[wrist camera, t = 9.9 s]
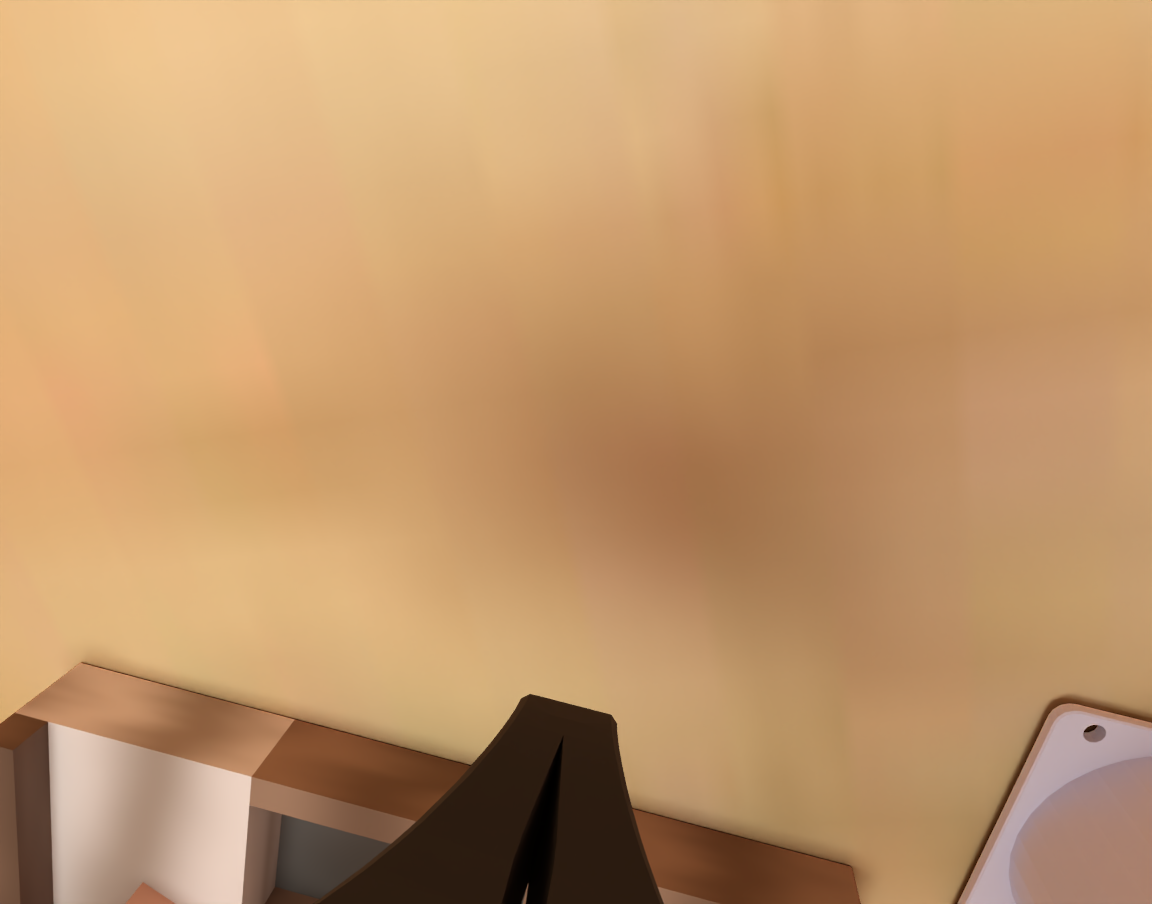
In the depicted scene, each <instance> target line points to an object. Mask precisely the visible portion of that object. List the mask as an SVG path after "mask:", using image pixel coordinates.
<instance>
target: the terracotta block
mask: <svg viewBox="0 0 1152 904" xmlns="http://www.w3.org/2000/svg"><path fill="white" fill-rule="evenodd" d="M126 904H175V903H174V902H172V901H171V900H169V899H168V898H166V897H165V896H163V895H162V894H160V893H159V892H157V891H156V890H154V889H153V888H151V887H150V886H148V885H147V884H145V883H144V882H142V884H141V885H140V886H139V887H138V889H137V890H136V891H135V892H134V894H133V895H132V896H131V897H130V899H129V900H128V901H127V902H126Z"/></svg>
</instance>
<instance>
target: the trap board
mask: <svg viewBox="0 0 1152 904" xmlns="http://www.w3.org/2000/svg"><path fill="white" fill-rule="evenodd" d="M469 767H470V766H469V765H465V764H461V763H458V762H454V761H450V760H446V759H442V758H439V757H435V756H431V755H427V754H424V753H420V752H416V751H412V750H408V749H405V748H401V747H397V746H393V745H389V744H386V743H382V742H378V741H374V740H371V739H367V738H363V737H359V736H355V735H352V734H348V733H344V732H340V731H337V730H333V729H329V728H325V727H321V726H318V725H314V724H310V723H306V722H303V721H299V720H295V719H291V718H287V717H284V716H280V715H276V714H272V713H269V712H265V711H261V710H257V709H253V708H250V707H246V706H242V705H238V704H235V703H231V702H227V701H223V700H219V699H216V698H212V697H208V696H204V695H201V694H197V693H193V692H189V691H185V690H182V689H178V688H174V687H170V686H167V685H163V684H159V683H155V682H151V681H148V680H144V679H140V678H136V677H133V676H129V675H125V674H121V673H117V672H114V671H110V670H106V669H102V668H98V667H95V666H91V665H87V664H83V663H79V664H78V665H77V666H75V667H74V668H73V669H72V670H70V671H69V672H68V673H66V674H65V675H64V676H62V677H61V678H60V679H58V680H57V681H56V682H54V683H53V684H52V685H51V686H49V687H48V688H47V689H45V690H44V691H43V692H41V693H40V694H39V695H37V696H36V697H35V698H33V699H32V700H31V701H30V702H28V703H27V704H26V705H24V706H23V707H22V708H20V709H19V710H18V711H16V712H15V713H14V714H12V715H11V716H10V717H9V718H7V719H6V720H5V721H3V722H2V723H1V724H0V904H126V902H127V901H128V900H129V899H130V897H131V896H132V895H133V894H134V892H135V891H136V890H137V889H138V887H139V886H140V885H141V884H142V882H144V883H145V884H147V885H148V886H150V887H151V888H153V889H154V890H156V891H157V892H159V893H160V894H162V895H163V896H165V897H166V898H168V899H169V900H171V901H172V902H174V903H175V904H313V903H314V902H316V901H317V900H319V899H320V898H322V897H323V896H324V895H326V894H327V893H328V892H330V891H331V890H332V889H334V888H335V887H336V886H338V885H339V884H341V883H342V882H343V881H345V880H346V879H347V878H349V877H350V876H351V875H353V874H354V873H355V872H357V871H358V870H359V869H361V868H362V867H363V866H365V865H366V864H367V863H368V862H370V861H371V860H372V859H373V858H374V857H376V856H377V855H378V854H379V853H381V852H382V851H383V850H384V849H385V848H387V847H388V846H389V845H390V844H391V843H393V842H394V841H395V840H396V839H397V838H398V837H400V836H401V835H402V834H403V833H404V832H405V831H406V830H407V829H409V828H410V827H411V826H412V825H413V824H414V823H415V822H416V821H417V820H418V819H420V818H421V817H422V816H423V815H424V814H425V813H426V812H427V811H428V810H429V809H430V808H431V807H432V806H433V805H434V804H435V803H436V802H437V801H438V800H439V799H440V798H441V797H442V796H443V795H444V794H445V793H446V792H447V791H448V790H449V789H450V788H451V787H452V786H453V785H454V784H455V783H456V782H457V781H458V780H459V779H460V778H461V776H462V775H463V774H464V773H465V772H466V771H467V770H468V769H469ZM633 813H634V816H635V819H636V823H637V826H638V830H639V833H640V837H641V840H642V843H643V846H644V849H645V852H646V856H647V859H648V862H649V864H650V867H651V870H652V873H653V875H654V878H655V881H656V884H657V887H658V889H659V892H660V895H661V897H662V900H663V902H664V904H861V903H860V899H859V895H858V891H857V887H856V883H855V879H854V874H853V870H852V867H851V866H847V865H843V864H839V863H835V862H832V861H828V860H824V859H820V858H817V857H813V856H809V855H805V854H801V853H798V852H794V851H790V850H786V849H783V848H779V847H775V846H771V845H767V844H764V843H760V842H756V841H752V840H749V839H745V838H741V837H737V836H733V835H730V834H726V833H722V832H718V831H715V830H711V829H707V828H703V827H699V826H696V825H692V824H688V823H684V822H680V821H677V820H673V819H669V818H665V817H662V816H658V815H654V814H650V813H646V812H643V811H639V810H635V809H633ZM527 890H528V886H527V889H526V892H525V895H524V898H523V901H522V904H526V897H527Z"/></svg>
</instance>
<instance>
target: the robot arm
mask: <svg viewBox="0 0 1152 904" xmlns="http://www.w3.org/2000/svg"><path fill="white" fill-rule="evenodd" d="M1091 725H1098V726H1097V728H1096V729H1095V730H1093V731H1091V732H1084V730H1085V729H1086V728H1087V727H1089V726H1091ZM527 886H528V890H527V897H526V904H664V902H663V900H662V897H661V895H660V892H659V889H658V887H657V884H656V881H655V878H654V875H653V873H652V870H651V867H650V864H649V862H648V859H647V856H646V852H645V849H644V846H643V843H642V840H641V837H640V833H639V830H638V826H637V823H636V819H635V816H634V813H633V809H632V806H631V802H630V798H629V794H628V790H627V786H626V781H625V777H624V772H623V767H622V762H621V757H620V751H619V744H618V735H617V723H616V721H615V720H614V718H613V717H612V715H610V714H606V713H602V712H598V711H594V710H590V709H587V708H583V707H579V706H575V705H571V704H567V703H563V702H559V701H555V700H552V699H548V698H544V697H540V696H536V695H532V694H529V695H527V696H525V697H523V698H521V700H520V702H519V704H518V705H517V707H516V709H515V710H514V712H513V713H512V715H511V717H510V718H509V720H508V721H507V722H506V724H505V725H504V726H503V728H502V729H501V731H500V732H499V733H498V734H497V736H496V737H495V738H494V739H493V741H492V742H491V743H490V744H489V746H488V747H487V748H486V749H485V751H484V752H483V753H482V754H481V755H480V756H479V757H478V758H477V760H476V761H475V762H474V763H473V764H472V765H471V766H470V767H469V769H468V770H467V771H466V772H465V773H464V774H463V775H462V776H461V778H460V779H459V780H458V781H457V782H456V783H455V784H454V785H453V786H452V787H451V788H450V789H449V790H448V791H447V792H446V793H445V794H444V795H443V796H442V797H441V798H440V799H439V800H438V801H437V802H436V803H435V804H434V805H433V806H432V807H431V808H430V809H429V810H428V811H427V812H426V813H425V814H424V815H423V816H422V817H421V818H420V819H418V820H417V821H416V822H415V823H414V824H413V825H412V826H411V827H410V828H409V829H407V830H406V831H405V832H404V833H403V834H402V835H401V836H400V837H398V838H397V839H396V840H395V841H394V842H393V843H391V844H390V845H389V846H388V847H387V848H385V849H384V850H383V851H382V852H381V853H379V854H378V855H377V856H376V857H374V858H373V859H372V860H371V861H370V862H368V863H367V864H366V865H365V866H363V867H362V868H361V869H359V870H358V871H357V872H355V873H354V874H353V875H351V876H350V877H349V878H347V879H346V880H345V881H343V882H342V883H341V884H339V885H338V886H336V887H335V888H334V889H332V890H331V891H330V892H328V893H327V894H326V895H324V896H323V897H322V898H320V899H319V900H317V901H316V902H314V903H313V904H522V901H523V898H524V895H525V892H526V889H527ZM958 904H1152V723H1151V722H1147V721H1143V720H1139V719H1135V718H1131V717H1127V716H1123V715H1119V714H1115V713H1110V712H1106V711H1102V710H1098V709H1094V708H1090V707H1086V706H1082V705H1078V704H1070V703H1067V704H1063V705H1059V706H1058V707H1056V708H1054V709H1053V710H1052V711H1051V712H1050V714H1049V715H1048V717H1047V719H1046V721H1045V723H1044V725H1043V727H1042V729H1041V731H1040V734H1039V736H1038V738H1037V740H1036V742H1035V744H1034V746H1033V748H1032V750H1031V752H1030V754H1029V756H1028V758H1027V761H1026V763H1025V765H1024V767H1023V769H1022V771H1021V773H1020V775H1019V777H1018V779H1017V781H1016V783H1015V785H1014V787H1013V790H1012V792H1011V794H1010V796H1009V798H1008V800H1007V802H1006V804H1005V806H1004V808H1003V810H1002V812H1001V814H1000V816H999V819H998V821H997V823H996V825H995V827H994V829H993V831H992V833H991V835H990V837H989V839H988V841H987V843H986V846H985V848H984V850H983V852H982V854H981V856H980V858H979V860H978V862H977V864H976V866H975V868H974V870H973V872H972V875H971V877H970V879H969V881H968V883H967V885H966V887H965V889H964V891H963V893H962V895H961V897H960V899H959V901H958Z"/></svg>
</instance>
